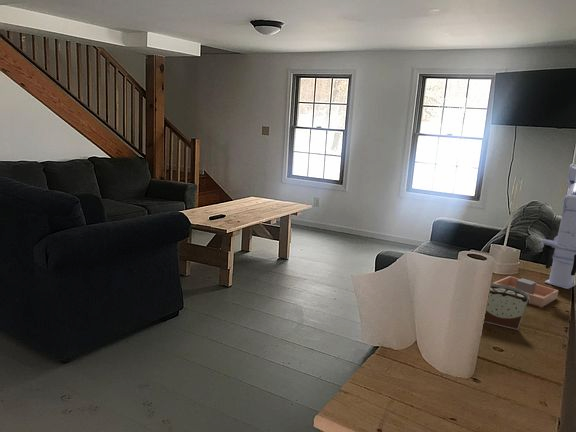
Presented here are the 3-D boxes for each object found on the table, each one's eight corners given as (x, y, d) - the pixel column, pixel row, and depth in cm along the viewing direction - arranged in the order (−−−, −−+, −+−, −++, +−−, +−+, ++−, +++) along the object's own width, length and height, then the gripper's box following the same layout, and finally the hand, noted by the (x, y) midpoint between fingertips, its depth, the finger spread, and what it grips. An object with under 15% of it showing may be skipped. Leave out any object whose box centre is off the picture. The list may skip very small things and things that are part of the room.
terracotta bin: (508, 283, 168) (509, 276, 167) (556, 298, 157) (558, 290, 156) (491, 291, 158) (492, 282, 158) (541, 307, 147) (543, 298, 147)
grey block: (519, 290, 161) (522, 278, 160) (533, 295, 158) (536, 282, 157) (514, 293, 158) (516, 280, 157) (528, 297, 155) (531, 284, 154)
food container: (523, 323, 133) (530, 290, 131) (524, 331, 128) (531, 296, 126) (477, 312, 138) (483, 280, 136) (475, 319, 133) (482, 286, 131)
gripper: (540, 227, 155) (532, 266, 158) (590, 238, 145) (580, 280, 148) (548, 225, 160) (540, 263, 163) (597, 235, 150) (587, 276, 153)
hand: (560, 271), depth 156 cm, fingers open, 7 cm apart
